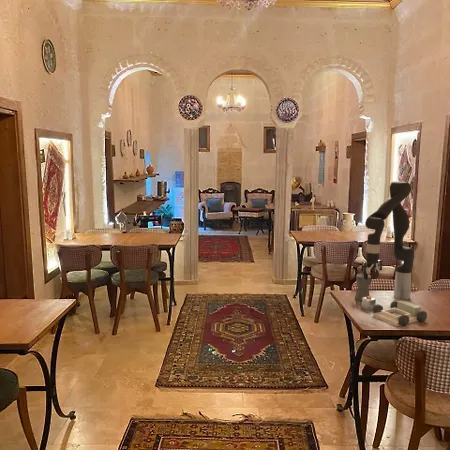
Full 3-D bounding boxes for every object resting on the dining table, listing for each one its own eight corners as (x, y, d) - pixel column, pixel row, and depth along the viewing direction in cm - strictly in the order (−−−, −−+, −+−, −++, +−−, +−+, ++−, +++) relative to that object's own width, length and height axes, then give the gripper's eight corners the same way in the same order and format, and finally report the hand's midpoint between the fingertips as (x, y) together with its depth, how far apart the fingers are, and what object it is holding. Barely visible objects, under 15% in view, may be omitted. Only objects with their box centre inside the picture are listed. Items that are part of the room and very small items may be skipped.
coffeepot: (362, 302, 273) (364, 274, 270) (349, 298, 281) (351, 271, 278) (376, 297, 283) (378, 270, 280) (364, 294, 290) (365, 267, 287)
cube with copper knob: (368, 306, 267) (368, 294, 266) (375, 308, 262) (375, 297, 261) (361, 307, 265) (362, 296, 263) (368, 310, 260) (369, 298, 259)
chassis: (398, 309, 261) (399, 298, 260) (427, 320, 244) (428, 308, 243) (371, 315, 251) (371, 303, 250) (399, 327, 233) (400, 314, 232)
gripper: (376, 249, 264) (375, 275, 267) (359, 251, 258) (357, 278, 260) (386, 251, 258) (384, 278, 260) (368, 253, 251) (366, 281, 253)
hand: (371, 278), depth 260 cm, fingers open, 8 cm apart
